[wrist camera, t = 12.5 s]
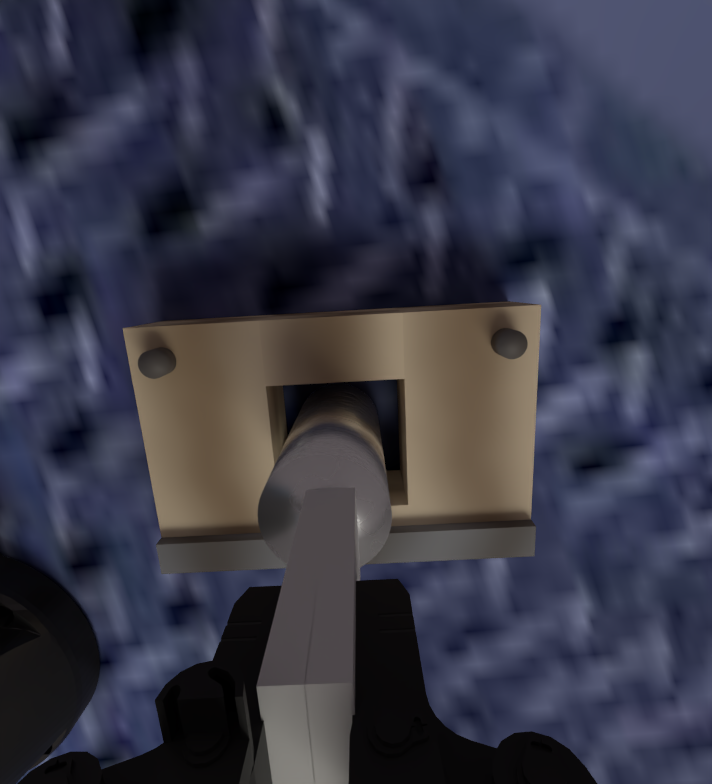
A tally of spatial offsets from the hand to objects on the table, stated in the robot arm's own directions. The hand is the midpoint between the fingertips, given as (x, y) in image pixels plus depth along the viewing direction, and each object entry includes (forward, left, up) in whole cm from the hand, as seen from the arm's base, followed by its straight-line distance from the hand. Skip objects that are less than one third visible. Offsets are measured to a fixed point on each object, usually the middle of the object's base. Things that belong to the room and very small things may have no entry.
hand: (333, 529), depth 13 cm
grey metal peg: (0, 0, -11) cm, 11 cm away
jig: (0, 0, -11) cm, 11 cm away
